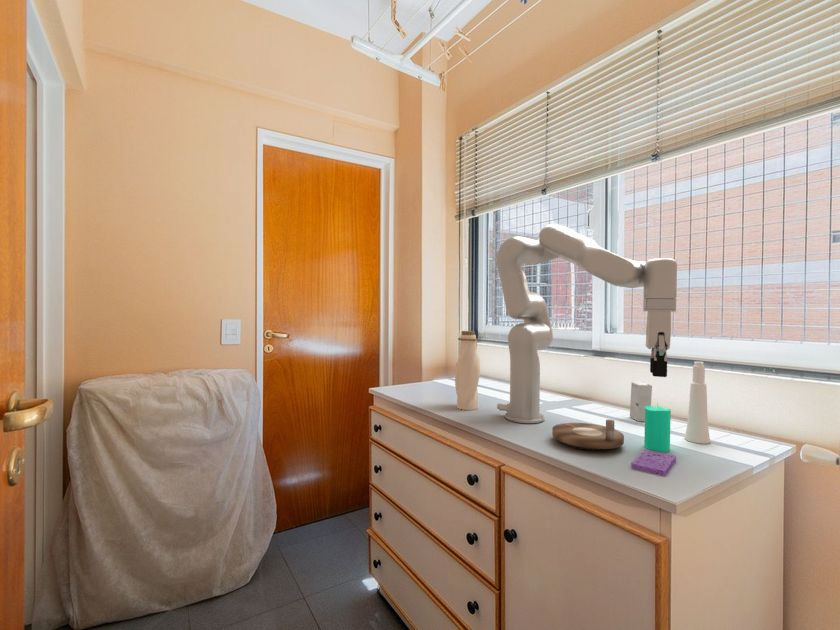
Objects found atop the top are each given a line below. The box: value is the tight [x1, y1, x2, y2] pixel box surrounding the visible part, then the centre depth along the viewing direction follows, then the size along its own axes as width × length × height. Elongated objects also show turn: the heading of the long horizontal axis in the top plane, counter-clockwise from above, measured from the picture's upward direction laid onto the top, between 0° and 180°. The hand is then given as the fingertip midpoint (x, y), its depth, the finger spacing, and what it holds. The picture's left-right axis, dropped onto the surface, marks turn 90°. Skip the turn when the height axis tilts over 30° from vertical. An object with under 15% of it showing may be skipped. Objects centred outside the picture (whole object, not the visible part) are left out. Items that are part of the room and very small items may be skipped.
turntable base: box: [566, 444, 608, 452], centre depth 114 cm, size 12×12×1 cm
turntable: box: [551, 418, 625, 450], centre depth 114 cm, size 18×18×7 cm
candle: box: [643, 402, 672, 453], centre depth 111 cm, size 6×6×12 cm
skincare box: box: [629, 381, 653, 422], centre depth 139 cm, size 6×4×12 cm
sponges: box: [630, 449, 677, 477], centre depth 99 cm, size 7×13×2 cm, turn 139°
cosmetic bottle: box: [684, 361, 711, 445], centre depth 117 cm, size 6×6×22 cm
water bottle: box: [454, 330, 481, 411], centre depth 154 cm, size 10×9×28 cm
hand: (658, 374), depth 110 cm, fingers open, 5 cm apart
